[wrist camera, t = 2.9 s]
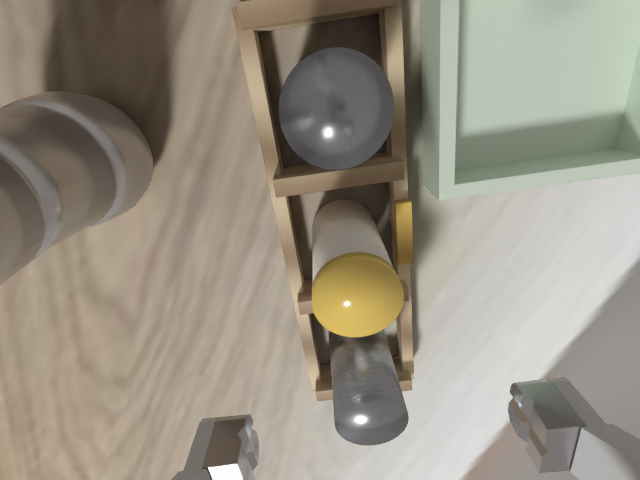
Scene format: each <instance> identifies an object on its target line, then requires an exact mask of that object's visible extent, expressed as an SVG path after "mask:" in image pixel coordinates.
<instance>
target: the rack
mask: <svg viewBox="0 0 640 480" xmlns="http://www.w3.org/2000/svg"><path fill="white" fill-rule="evenodd" d="M236 5H237V7H233V8H232V12H233V17H234V21H235V26H236V31H237V36H238V40H239V45H240V50H241V55H242V59H243V64H244V69H245V74H246V78H247V83H248V88H249V93H250V97H251V102H252V107H253V112H254V116H255V121H256V126H257V131H258V135H259V140H260V145H261V150H262V154H263V159H264V164H265V169H266V173H267V178H268V183H269V188H270V192H271V197H272V202H273V207H274V211H275V216H276V221H277V226H278V230H279V235H280V240H281V245H282V249H283V254H284V259H285V264H286V268H287V273H288V278H289V283H290V287H291V292H292V297H293V302H294V306H295V311H296V316H297V321H298V325H299V330H300V335H301V340H302V344H303V349H304V354H305V359H306V363H307V368H308V373H309V378H310V382H311V387H312V391H315V390H316V395H317V400H318V401H324V400H332V399H333V390H332V375H331V364H326V365H320V361H319V356H318V350H317V345H316V340H315V334H314V329H313V324H312V318H311V314H312V313H314V312H313V308H312V284H313V279H310V280H304V276H303V271H302V265H301V260H300V255H299V249H298V244H297V239H296V233H295V228H294V223H293V217H292V212H291V207H290V201H289V196H292V195H299V194H306V193H313V192H321V191H328V190H335V189H342V188H349V187H356V186H363V185H370V184H377V183H384V182H389V198H390V215H391V233H392V251H393V268H394V270H395V271H396V273H397V275H398V277H399V280H400V282H401V285H402V288H403V292H404V302H403V306H402V309H401V311H400V313H399V315H398V316H397V318H396V321H397V338H398V356H392V359H393V363H394V366H395V370H396V373H397V377H398V380H399V384H400V388H401V391H408V390H412V379H414V363H413V332H412V302H411V271H410V263H413V233H412V202H411V201H410V199H408V180H407V149H406V119H405V88H404V58H403V27H402V0H249V1H242V2H236ZM378 13H379V23H380V40H381V58H382V70H383V72H384V73H385V75H386V76H387V78H388V80H389V83H390V85H391V88H392V92H393V96H394V118H393V123H392V126H391V129H390V132H389V134H388V136H387V138H386V145H387V152H385V153H378V154H374V155H373V156H372V157H370V158H369V159H368V160H366V161H365V162H363V163H361V164H359V165H357V166H354V167H351V168H347V169H341V170H329V169H323V168H320V167H316V166H314V165H312V164H303V165H296V166H289V167H283V164H282V159H281V154H280V148H279V143H278V138H277V132H276V127H275V122H274V116H273V111H272V106H271V100H270V95H269V90H268V85H267V79H266V74H265V69H264V63H263V58H262V53H261V47H260V42H259V37H258V33H260V32H266V31H272V30H279V29H285V28H291V27H297V26H303V25H310V24H316V23H322V22H328V21H334V20H341V19H347V18H353V17H359V16H365V15H372V14H378Z"/></svg>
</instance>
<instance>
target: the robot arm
mask: <svg viewBox="0 0 640 480" xmlns="http://www.w3.org/2000/svg"><path fill="white" fill-rule="evenodd" d="M510 393H511V395H512V396H513V399H512V400H511V401H510V402H509V407H508V412H509V417H510V421H511V423H512V426H513V428H514V430H515V432H516V433H517V435H518V436H519V437H520V438H522V439H523V440H525V441H526V442H527V447H526V451H527V452H528V454H529V456H530V458H531V460H532V461H533V463H534V465H535V466H536V468H537V470H538V471H539V473H543V472H557V471H570V470H571V471H570V472H571V473H572V474H573V475H574V476H576V477H577V478H578V479H579V480H640V439H638V438H637V437H635V436H633V435H631V434H629V433H628V432H626V431H624V430H622V429H620V428H619V427H617V426H615V425H613V424H606V423H605V422H604V421H603V419H602V418H601V417H600V416H599V415H598V414H597V413H596V411H595V410H594V409H593V408H592V407H591V406H590V404H589V403H588V402H587V401H586V400H585V399H584V397H582V395H581V394H580V393H579V392H578V390H577V389H576V388H575V387H574V386H573V385H572V384H571V382H570V381H569V380H568V379H566V378H565V377H561V378H553V379H541V380H534V381H526V382H518V383H513V384H512V385H511V389H510ZM252 425H253V420H252V418H251V415H238V416H226V417H216V418H206V419H202V420H201V422H200V423H199V425H198V428H197V431H196V434H195V437H194V440H193V443H192V446H191V449H190V453H189V456H188V459H187V462H186V465H185V468H184V471H179V472H178V473H177V474H176V475H175V476H174V477H173V478H172V479H171V480H255V477H254V474H253V470H254V468H255V467H256V466H257V464H258V457H259V442H258V436H257V433H256V431H255V430H253V429H252Z"/></svg>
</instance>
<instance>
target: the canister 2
mask: <svg viewBox="0 0 640 480" xmlns="http://www.w3.org/2000/svg"><path fill="white" fill-rule="evenodd" d="M328 331H329V330H328ZM329 346H330V360H331V375H332V390H333V404H334V419H335V427H336V430H337V432H338V433H339V435H340V436H341V437H343V438H344V439H345V440H347V441H349V442H352V443H355V444H359V445H377V444H382V443H385V442H388V441H390V440H392V439H394V438H396V437H397V436H399V435H400V434H401V433H402V432H403V431H404V429H405V428H406V426H407V424H408V412H407V409H406V405H405V402H404V398H403V395H402V391H401V388H400V384H399V380H398V377H397V373H396V370H395V366H394V363H393V359H392V356H391V352H390V349H389V345H388V342H387V338H386V334H385V331H384V329H383V330H382V331H380V332H378V333H375V334H372V335H369V336H364V337H346V336H341V335H338V334H335V333H333V332H331V331H329Z"/></svg>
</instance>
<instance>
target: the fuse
mask: <svg viewBox="0 0 640 480" xmlns="http://www.w3.org/2000/svg"><path fill="white" fill-rule="evenodd" d="M312 264H313V284H312V308H313V312H314V314H315V317H316V318H317V320H318V321H319V322H320V323H321V325H323V326H324V327H325V328H326V329H328V330H329V331H331V332H333V333H335V334H338V335H341V336H346V337H364V336H369V335H372V334H375V333H378V332H380V331H382V330H383V329H385V328H386V327H388V326H389V325H390V324H391V323H392V322H393V321H394V320H395V319H396V318H397V316H398V315H399V313H400V311H401V309H402V306H403V302H404V292H403V288H402V285H401V282H400V280H399V277H398V275H397V273H396V271H395V270H394V268H393V266H392V264H391V261H390V259H389V256H388V254H387V251H386V249H385V247H384V244H383V242H382V239H381V237H380V235H379V232H378V230H377V227H376V225H375V223H374V220H373V218H372V216H371V213H370V212H369V210H368V209H367V208H366V207H365V206H364V205H362V204H361V203H359V202H357V201H354V200H349V199H339V200H335V201H332V202H329V203H327V204H326V205H324V206H323V207H322V208H321V209H320V210H319V211H318V212H317V214H316V216H315V218H314V220H313V225H312Z"/></svg>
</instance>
